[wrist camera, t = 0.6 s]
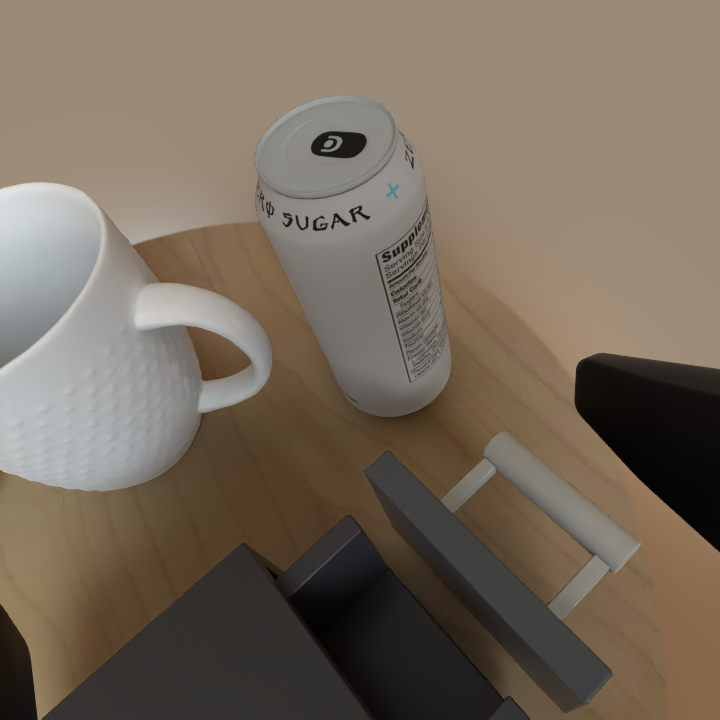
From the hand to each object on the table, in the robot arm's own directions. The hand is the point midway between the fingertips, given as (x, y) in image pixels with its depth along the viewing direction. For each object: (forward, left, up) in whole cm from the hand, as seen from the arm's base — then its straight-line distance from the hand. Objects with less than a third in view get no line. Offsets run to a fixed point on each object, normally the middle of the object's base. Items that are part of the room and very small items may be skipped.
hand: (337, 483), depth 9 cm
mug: (+18, +4, -19) cm, 27 cm away
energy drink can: (+11, -7, -19) cm, 23 cm away
